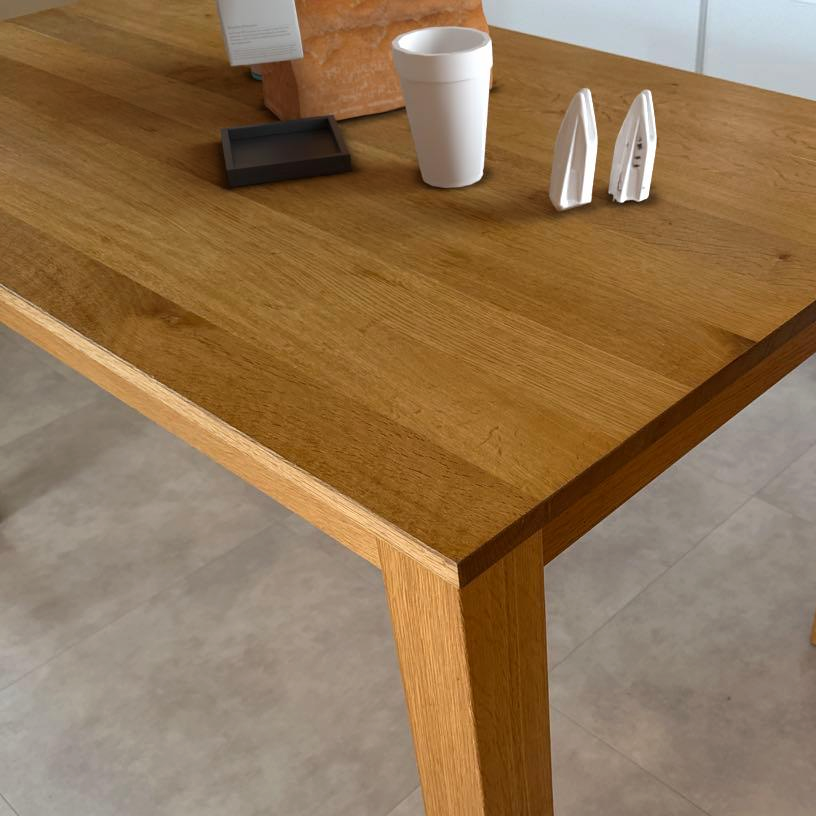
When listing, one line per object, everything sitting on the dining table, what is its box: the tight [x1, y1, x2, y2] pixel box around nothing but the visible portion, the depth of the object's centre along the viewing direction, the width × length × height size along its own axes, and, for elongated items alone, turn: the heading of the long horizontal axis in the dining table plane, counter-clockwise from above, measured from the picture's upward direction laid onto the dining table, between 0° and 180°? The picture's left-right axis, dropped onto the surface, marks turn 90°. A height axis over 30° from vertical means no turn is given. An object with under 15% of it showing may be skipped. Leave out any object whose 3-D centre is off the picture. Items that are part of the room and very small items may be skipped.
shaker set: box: [548, 87, 657, 212], centre depth 94 cm, size 12×4×11 cm, turn 119°
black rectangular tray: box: [219, 115, 353, 188], centre depth 108 cm, size 13×13×2 cm
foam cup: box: [392, 26, 494, 189], centre depth 100 cm, size 10×9×13 cm
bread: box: [261, 0, 494, 122], centre depth 118 cm, size 14×27×15 cm, turn 119°
